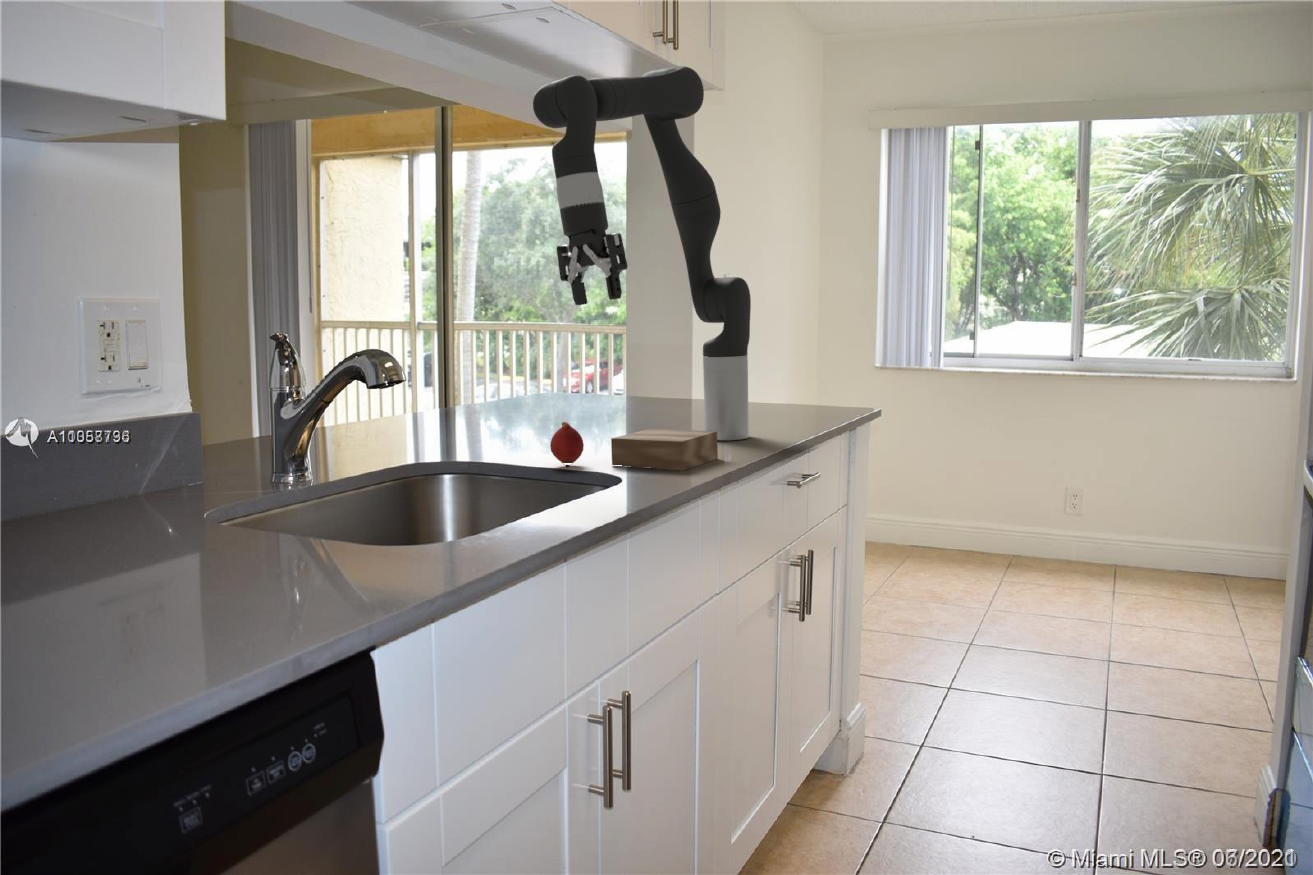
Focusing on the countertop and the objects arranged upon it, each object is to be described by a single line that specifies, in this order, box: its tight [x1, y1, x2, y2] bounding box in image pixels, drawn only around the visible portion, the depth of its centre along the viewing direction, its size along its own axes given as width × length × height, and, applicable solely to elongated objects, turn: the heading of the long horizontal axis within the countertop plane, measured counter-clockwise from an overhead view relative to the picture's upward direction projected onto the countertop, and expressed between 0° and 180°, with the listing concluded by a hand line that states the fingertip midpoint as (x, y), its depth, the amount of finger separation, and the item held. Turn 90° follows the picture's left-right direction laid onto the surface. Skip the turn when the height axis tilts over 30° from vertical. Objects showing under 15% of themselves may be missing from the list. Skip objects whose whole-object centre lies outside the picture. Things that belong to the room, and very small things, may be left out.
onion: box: [549, 421, 584, 464], centre depth 178 cm, size 6×6×8 cm
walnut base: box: [610, 428, 719, 472], centre depth 179 cm, size 14×14×5 cm
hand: (598, 301), depth 167 cm, fingers open, 8 cm apart
